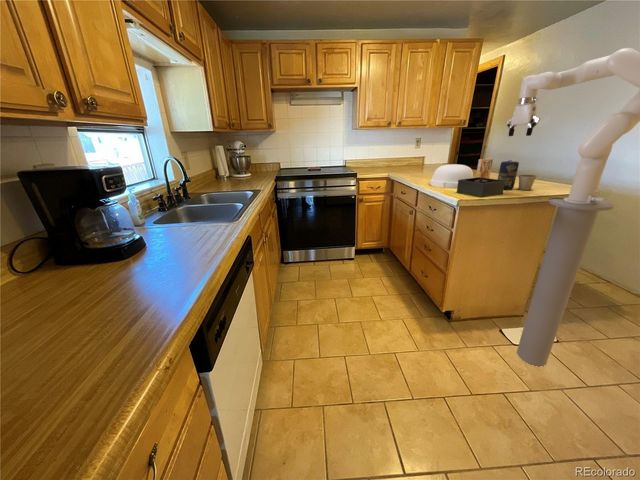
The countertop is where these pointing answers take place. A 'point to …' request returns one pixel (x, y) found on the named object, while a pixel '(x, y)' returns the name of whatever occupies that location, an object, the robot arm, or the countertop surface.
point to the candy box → (484, 168)
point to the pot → (481, 181)
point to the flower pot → (526, 181)
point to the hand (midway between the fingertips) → (519, 135)
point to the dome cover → (450, 175)
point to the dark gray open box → (480, 187)
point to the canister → (508, 173)
